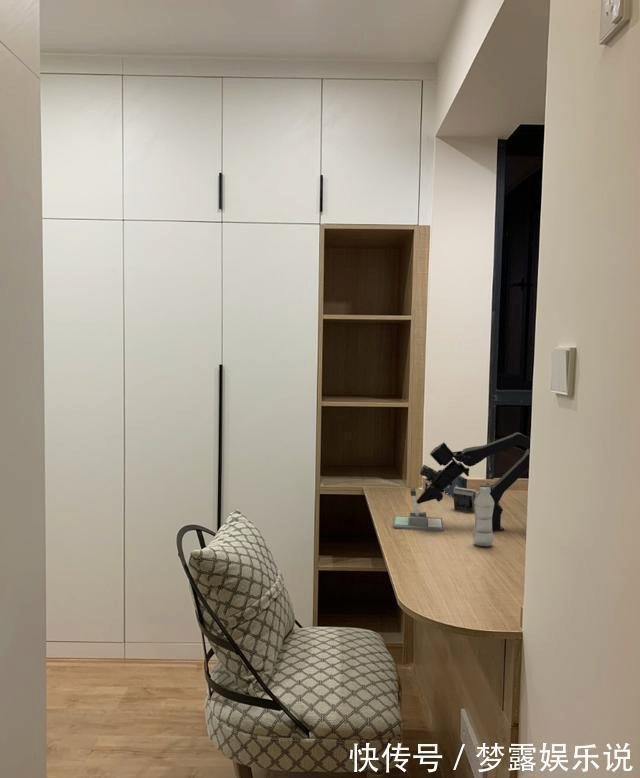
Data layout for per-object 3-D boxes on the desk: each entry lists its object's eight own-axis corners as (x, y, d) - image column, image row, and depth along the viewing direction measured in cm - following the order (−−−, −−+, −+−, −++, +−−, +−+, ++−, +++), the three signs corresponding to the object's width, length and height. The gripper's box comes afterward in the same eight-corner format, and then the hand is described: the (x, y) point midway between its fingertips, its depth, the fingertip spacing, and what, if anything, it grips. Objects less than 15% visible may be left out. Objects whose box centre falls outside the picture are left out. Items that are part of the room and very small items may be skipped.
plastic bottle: (496, 548, 205) (498, 488, 203) (477, 549, 203) (479, 489, 202) (488, 541, 211) (490, 483, 209) (469, 542, 210) (471, 484, 208)
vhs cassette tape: (466, 502, 262) (467, 478, 262) (460, 502, 262) (460, 479, 261) (448, 491, 280) (449, 469, 280) (442, 491, 280) (443, 469, 279)
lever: (420, 518, 232) (415, 487, 231) (421, 522, 228) (415, 490, 227) (416, 519, 232) (410, 488, 232) (416, 522, 228) (410, 491, 227)
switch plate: (442, 520, 236) (442, 510, 235) (443, 531, 222) (444, 521, 221) (394, 517, 238) (394, 508, 238) (392, 528, 224) (393, 518, 224)
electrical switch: (478, 511, 249) (478, 488, 247) (473, 515, 244) (473, 492, 243) (455, 507, 254) (455, 485, 252) (451, 511, 249) (450, 489, 248)
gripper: (432, 453, 236) (402, 480, 239) (434, 463, 218) (401, 492, 221) (453, 475, 236) (422, 502, 238) (456, 487, 218) (423, 516, 220)
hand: (417, 502), depth 229 cm, fingers closed, pressing on lever
